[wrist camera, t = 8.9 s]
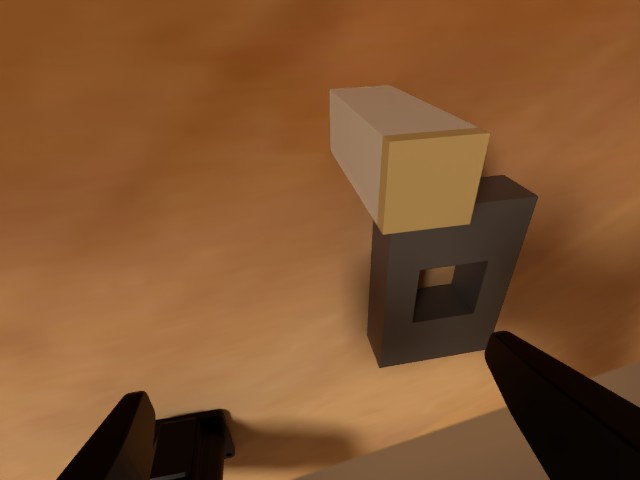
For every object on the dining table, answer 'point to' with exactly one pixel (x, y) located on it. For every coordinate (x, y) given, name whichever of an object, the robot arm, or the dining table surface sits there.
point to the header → (467, 285)
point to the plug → (406, 158)
